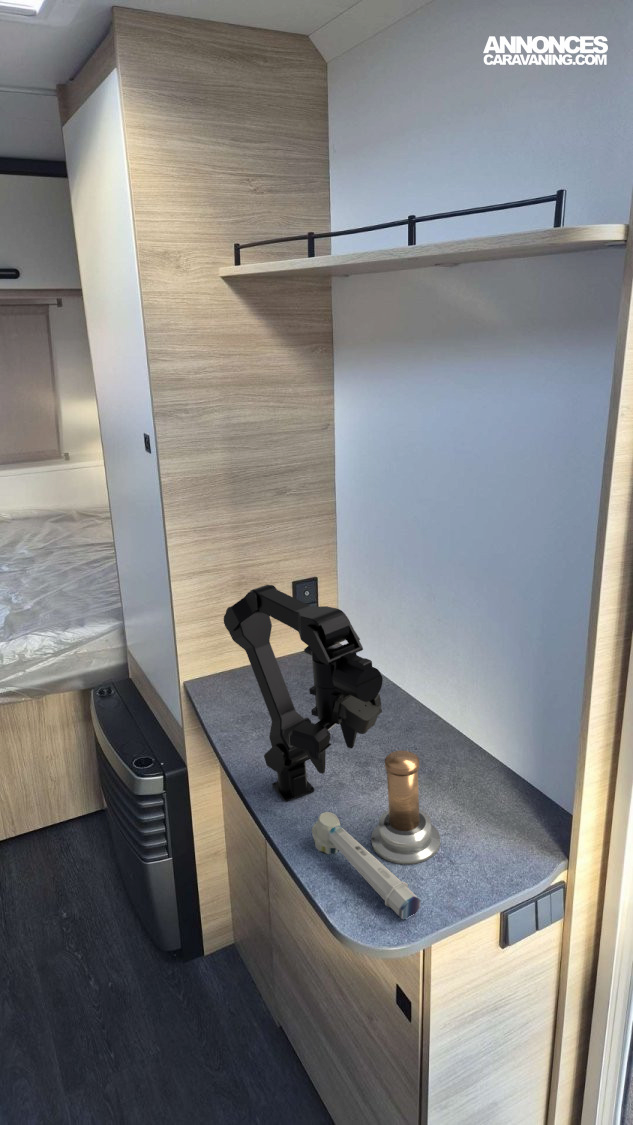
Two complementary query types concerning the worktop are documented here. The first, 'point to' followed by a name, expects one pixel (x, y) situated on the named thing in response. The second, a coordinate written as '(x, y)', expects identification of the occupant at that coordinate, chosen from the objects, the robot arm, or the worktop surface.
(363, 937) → the worktop surface
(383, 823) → the ring
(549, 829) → the worktop surface
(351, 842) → the grey piece
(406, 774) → the copper capped cylinder
